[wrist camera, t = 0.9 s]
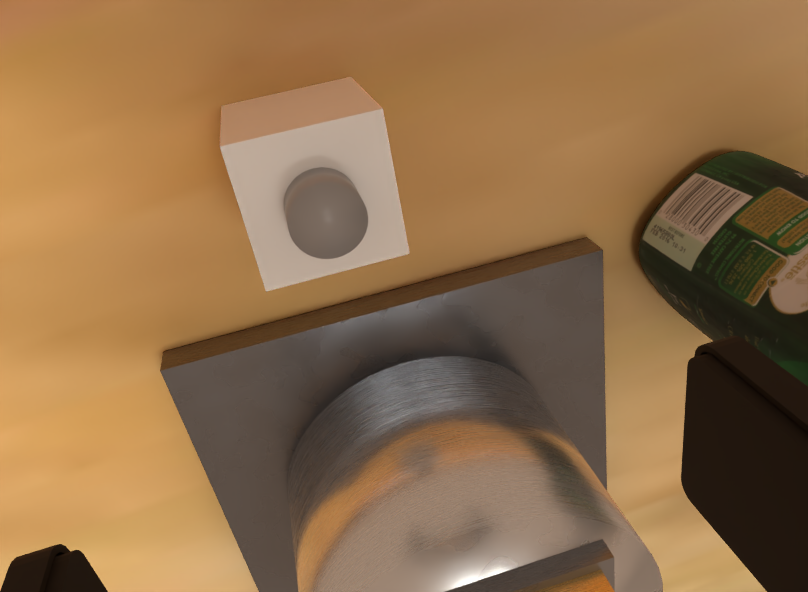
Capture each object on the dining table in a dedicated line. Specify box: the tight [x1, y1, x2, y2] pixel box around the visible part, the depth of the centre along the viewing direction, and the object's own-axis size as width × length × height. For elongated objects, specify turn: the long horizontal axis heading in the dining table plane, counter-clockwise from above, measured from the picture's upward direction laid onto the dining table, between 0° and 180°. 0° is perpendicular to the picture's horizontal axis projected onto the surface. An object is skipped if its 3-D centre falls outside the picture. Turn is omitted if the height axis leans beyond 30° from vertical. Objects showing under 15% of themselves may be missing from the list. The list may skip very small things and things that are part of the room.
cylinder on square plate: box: [160, 237, 663, 592], centre depth 28 cm, size 20×20×14 cm
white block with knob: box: [220, 77, 410, 292], centre depth 22 cm, size 5×5×8 cm
